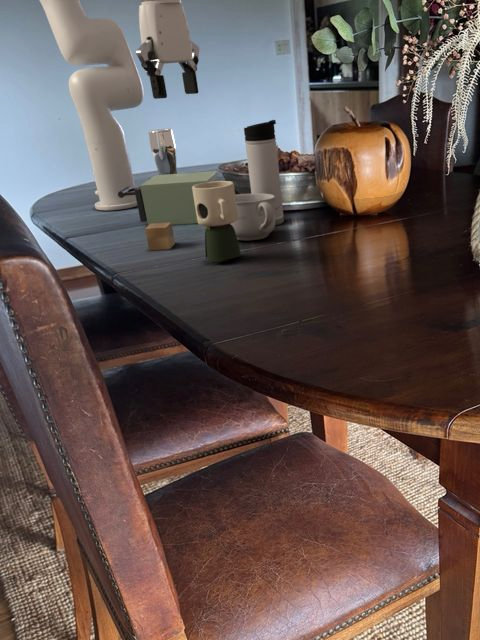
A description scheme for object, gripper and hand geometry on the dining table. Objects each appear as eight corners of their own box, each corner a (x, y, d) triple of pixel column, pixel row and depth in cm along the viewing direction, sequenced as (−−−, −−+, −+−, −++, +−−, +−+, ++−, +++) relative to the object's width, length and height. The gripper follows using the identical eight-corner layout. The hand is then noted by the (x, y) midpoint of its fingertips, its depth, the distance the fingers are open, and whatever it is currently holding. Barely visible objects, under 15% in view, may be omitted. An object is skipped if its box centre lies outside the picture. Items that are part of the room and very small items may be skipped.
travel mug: (281, 226, 136) (270, 121, 125) (251, 227, 137) (238, 123, 127) (288, 219, 141) (279, 118, 131) (259, 220, 142) (248, 120, 132)
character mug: (197, 256, 120) (184, 183, 113) (233, 250, 122) (223, 177, 115) (213, 271, 111) (200, 192, 104) (252, 263, 113) (242, 185, 107)
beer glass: (179, 187, 187) (169, 130, 179) (155, 188, 187) (144, 132, 180) (184, 182, 193) (174, 128, 185) (161, 184, 193) (150, 130, 186)
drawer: (119, 223, 145) (112, 191, 142) (134, 212, 155) (128, 182, 152) (200, 218, 144) (194, 185, 141) (210, 206, 154) (205, 176, 151)
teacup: (218, 236, 132) (212, 195, 128) (268, 227, 135) (264, 187, 131) (238, 251, 121) (232, 207, 117) (292, 241, 124) (288, 198, 120)
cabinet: (148, 226, 145) (139, 185, 141) (162, 213, 156) (155, 175, 152) (213, 222, 144) (206, 180, 139) (223, 209, 155) (217, 170, 150)
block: (149, 250, 126) (144, 228, 124) (154, 244, 130) (150, 223, 128) (170, 249, 126) (166, 227, 124) (175, 243, 130) (171, 222, 127)
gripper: (175, -2, 131) (189, 92, 140) (112, -3, 119) (133, 100, 127) (204, -6, 128) (217, 91, 136) (142, -8, 115) (161, 99, 124)
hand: (176, 95), depth 132 cm, fingers open, 9 cm apart
